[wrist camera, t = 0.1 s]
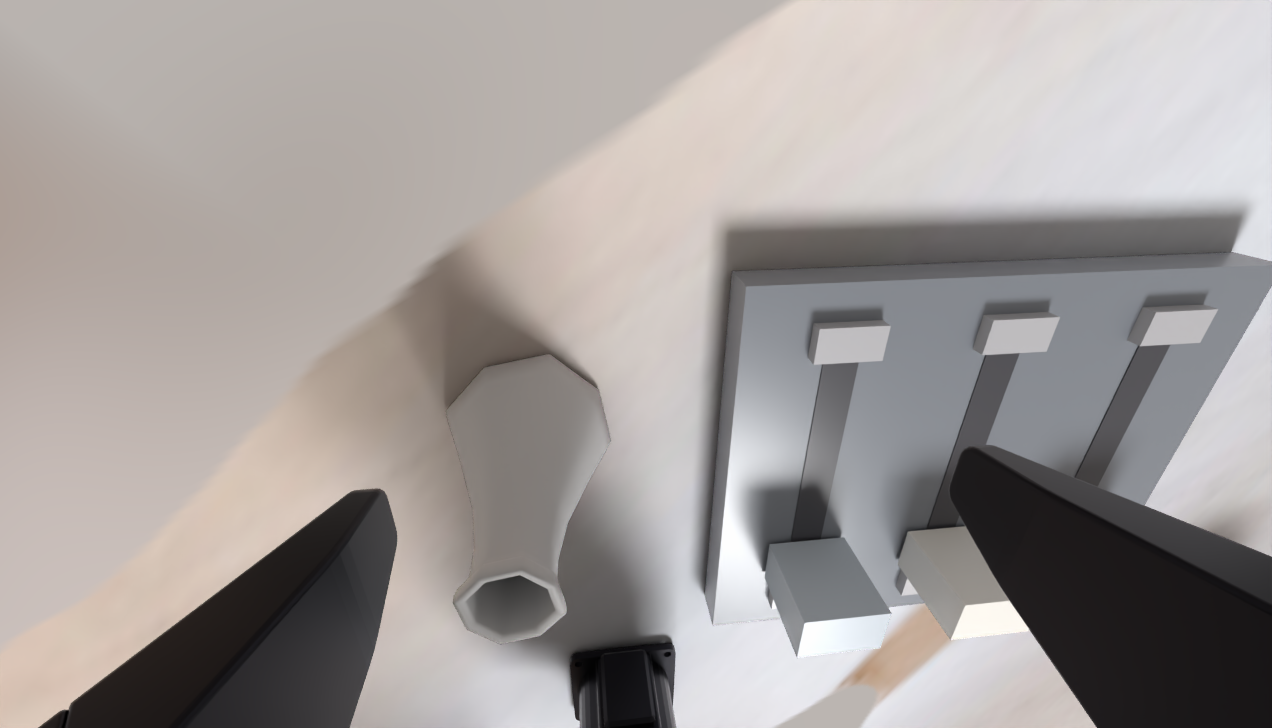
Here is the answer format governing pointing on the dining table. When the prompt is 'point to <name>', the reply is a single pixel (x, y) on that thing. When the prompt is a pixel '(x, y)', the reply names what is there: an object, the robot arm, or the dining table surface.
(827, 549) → the grey small block
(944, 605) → the ivory cuboid
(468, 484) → the flask
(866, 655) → the dining table surface
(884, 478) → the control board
